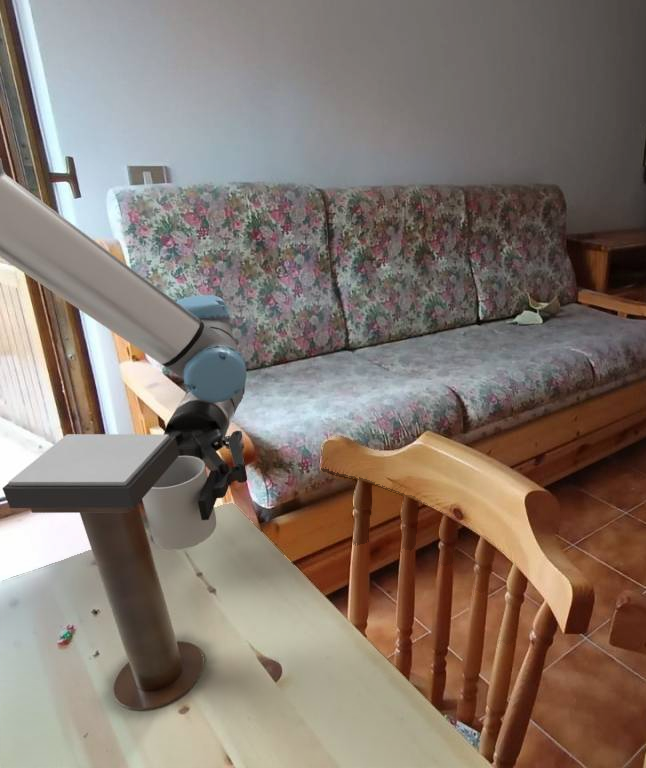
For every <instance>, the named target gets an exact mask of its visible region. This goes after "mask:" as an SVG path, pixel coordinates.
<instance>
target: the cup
mask: <svg viewBox="0 0 646 768" xmlns="http://www.w3.org/2000/svg"><path fill="white" fill-rule="evenodd" d="M208 476H209V475H208V472H207V467H205V463H204V462H203V460H201V459H200V458H197V457H194V456H178V457H177V458H176V460H175V461H174V462H173V463H172V464H171V466H170V467H169V468H168V469H167V470H166V471H165V473H164V474H163V475H162V476H161V477H160V478H159V480H158V481H157V482H156V483H155V484H154V485H153V487H152V488H151V489H150V490H149V491H148V493H147V494H146V495H145V496H144V497H143V498H142V500H141V501H142V504H143V508H144V511H145V515H146V516H145V515H142V514H141V516H142V519H143V523H144V526H145V530H146V531H150V534H151V537H152V540H153V542H154V544H155V545H156V546H158V547H159V548H162V549H164V550H169V551H179V550H180V551H181V550H184V549H189V548H193V547H195V546H198V545H199V544H202V543H204V542H205V541H206V540H207V539H209V538H210V537H211V536H212V535H213V533H214V531H215V529H216V528H217V515H216V510H215V506H214V507H213V510H212V513H211V515H210V518H209V520H202V519H201V514H200V510H199V505H198V499H199V497H200V494H201V492H202V490H203V487H204V485H205V483H206V480H207V478H208Z"/></svg>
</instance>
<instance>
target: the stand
mask: <svg viewBox="0 0 646 768" xmlns="http://www.w3.org/2000/svg"><path fill="white" fill-rule="evenodd" d="M30 512H31V513H32V514H37V513H38V514H69V513H70V514H77V513H78V514H79V515H80V519H81V521H82V525H83V527H84V530H85V534H86V537H87V539H88V543H89V545H90V549H91V552H92V555H93V558H94V561H95V564H96V567H97V569H98V573H99V576H100V579H101V582H102V585H103V589H104V591H105V595H106V598H107V600H108V603H109V606H110V609H111V612H112V615H113V618H114V621H115V624H116V628H117V631H118V634H119V637H120V640H121V642H122V646H123V649H124V652H125V655H126V658H127V663H126V664H125V665H124V666H123V668H122V669H121V670H120V671H119V673H118V674H117V676H116V678H115V680H114V683H113V689H112V693H113V697H114V699H115V701H116V703H117V704H118V705H119V706H120V707H122V708H123V709H126V710H129V711H135V712H137V711H138V712H144V711H145V712H146V711H151V710H152V711H153V710H155V709H158V708H162V707H164V706H167V705H169V704H171V703H173V702H175V701H176V700H178V699H180V698H181V697H183V696H184V695H185V694H186V693H188V692H189V691H190V690H191V689H192V688H193V687H194V686H195V685H196V683H197V682H198V681H199V679H200V678H201V675H202V674H203V672H204V668H205V656H204V653H203V652H202V650H201V649H200V648H199V647H198V646H197V645H195V644H193V643H191V642H188V641H179V640H178V641H177V637H176V634H175V630H174V626H173V623H172V619H171V617H170V613H169V609H168V605H167V602H166V598H165V595H164V592H163V587H162V584H161V580H160V576H159V574H158V570H157V566H156V563H155V558H154V556H153V555H154V554H153V552H152V548H151V545H150V541H149V537H148V533H147V530H145V526H144V523H143V519H142V516H143V515H142V513H141V509H140V506H139V503H138V504H137V505H136V507H135V508H30ZM141 515H142V516H141Z"/></svg>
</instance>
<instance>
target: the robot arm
mask: <svg viewBox="0 0 646 768" xmlns="http://www.w3.org/2000/svg"><path fill="white" fill-rule="evenodd" d="M2 162H3V161H2V158H1V157H0V258H1V259H2V260H4V261H5V262H7V263H9V264H10V265H11V266H13V267H14V268H16V269H18V270H19V271H20V272H22V273H24V274H25V275H26V276H28V277H29V278H32V279H33V280H34V281H35V282H37V283H39V284H40V285H41V286H43V287H44V288H46V289H48V290H49V291H50V292H52V293H54V294H55V295H56V296H58V297H60V298H61V299H63V300H64V301H66V302H67V303H69V304H70V305H72V306H73V307H75V308H76V309H78V310H79V311H81V312H82V313H84V314H85V315H87V316H88V317H90V318H91V319H92V320H94V321H95V322H97V323H98V324H100V325H101V326H103V327H105V328H106V329H108V330H109V331H111V332H112V333H114V334H115V335H117V336H118V337H120V338H121V339H123V340H124V341H126V342H128V343H129V344H131V346H133V347H134V348H136V349H138V350H139V351H141V352H142V353H144V354H146V355H147V356H149V357H150V358H151V359H153V360H154V361H156V362H158V363H159V364H161V365H162V366H163V367H165V368H166V369H168V370H169V371H171V372H172V373H173V374H175V375H176V376H178V377H179V378H181V379H182V381H183V384H184V385H185V387H186V388H187V391H186V393H185V395H184V396H183V398H182V399H181V400H180V402H179V404H178V405H177V407H176V408H175V410H174V412H173V414H172V415H171V417H170V418H169V420H168V421H167V423H166V426H165V429H164V432H163V435H169V437H176V441H177V446H178V450H179V454H180V455H179V456H194V457H197V458H200V459H201V460H203V462H204V463H205V467H206V469H208V471H209V474H208V475H207V476H208V478H207V480H206V483H205V485H204V487H203V490H202V492H201V494H200V497H199V499H198V505H199V510H200V514H201V519H202V520H209V518H210V515H211V513H212V510H213V507H214V508H215V505H216V502H217V499H223V498H225V496H226V495H227V492H228V489H229V488H230V486H231V485H232V483H233V482H237V483H241V484H242V483H245V482H247V481H248V474H247V469H246V462H245V460H244V455H243V451H244V449H245V443H244V438H243V431H242V430H234V431H233V432H232V433H231V435H227V433H228V430H229V428H230V426H231V423H232V420H233V418H234V416H235V414H236V411H237V409H238V407H239V406H240V403H241V402H242V400H243V398H244V395H245V393H246V392H245V390H246V384H247V383H246V382H247V374H248V373H247V369H246V360H245V358H244V356H243V354H242V353H241V352H240V348H239V347H238V344H237V342H236V339H235V337H234V334H233V332H232V328H231V322H230V321H231V320H230V318H231V317H230V314H229V312H228V307H227V303H226V301H225V300H224V299H223V298H222V297H220V296H216V295H210V294H206V295H205V294H200V295H199V294H198V295H191V296H187V297H186V296H185V297H182V298H181V299H180V298H179V299H178V300H174V299H173V298H172V297H171V296H169V295H168V294H167V293H165V292H163V291H162V290H161V289H160V288H158V287H157V286H155V284H153V283H152V282H150V280H147V278H145V277H144V276H142V275H141V274H140V273H138V272H137V271H136V270H134V269H133V268H131V267H130V266H129V265H128V264H126V263H125V262H124V261H122V260H121V259H119V258H118V257H117V256H116V255H114V254H113V253H112V252H110V251H109V250H107V249H106V248H105V247H104V246H102V245H101V244H100V243H98V242H97V241H96V240H94V239H93V238H92V237H90V236H89V235H88V234H86V232H83V230H81V229H80V228H78V227H76V225H74V224H73V223H72V222H70V221H69V220H68V219H66V218H65V217H64V216H62V215H61V214H59V213H58V212H57V211H55V210H54V209H53V208H52V207H50V206H49V205H48V204H46V203H45V202H44V201H42V200H41V199H39V198H38V197H37V196H36V195H35V194H33V193H31V192H30V191H29V190H28V189H26V188H25V187H23V186H22V184H20V183H18V182H17V181H15V180H14V179H13V178H12V177H10V176H9V175H7V173H6V172H5V171H4V167H3V163H2ZM224 447H225V449H226V450H228V452H229V453H230V454H231V458H232V463H233V464H232V465H233V466H230V467H229V462H228V461H227V460H226V461H225V460H224V459H223V458H222V457H221V456H220V455H219V454H218V452H217V451H219V450H221V449H223V448H224Z"/></svg>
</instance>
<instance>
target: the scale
mask: <svg viewBox="0 0 646 768" xmlns="http://www.w3.org/2000/svg"><path fill="white" fill-rule="evenodd" d="M163 434H164V433H163ZM163 434H159V433H158V434H155V433H153V434H152V433H151V434H148V433H147V434H146V433H145V434H143V433H142V434H141V433H140V434H139V433H138V434H136V433H135V434H129V433H128V434H122V433H117V434H115V433H113V434H110V433H109V434H108V433H107V434H105V433H103V434H102V433H94V434H93V433H92V434H91V433H85V434H83V433H66V434H65V435H64V436H62V438H61V439H59V440H58V441H57V442H56V443H54V444H53V445H52V446H51V447H49V448H48V449H47V450H46V451H44V452H43V453H42V454H41V455H39V456H38V457H37V458H36V459H34V461H32V462H31V463H30V464H28V465H27V466H26V467H25V468H23V469H22V470H21V471H20V472H19V473H17V474H16V475H15V476H14V477H12V478H11V479H10V480H9V481H8V483H7V484H6V485H4V486H3V487H2V491H3V494H4V497H5V499H6V502H7V504H8V506H9V508H10V509H31V508H135V507H136V505H137V504H138V505H139V503H140V502H141V501H143V500H142V498H143V497H144V496H145V495H146V494H147V493H148V491H149V490H150V489H151V488H152V487H153V485H154V484H155V483H156V482H157V481H158V480H159V478H160V477H161V476H162V475H163V474H164V473H165V471H166V470H167V469H168V468H169V467H170V466H171V464H172V463H173V462H174V461H175V460H176V458H177V457H178V456H179V455H180V454H179V450H178V446H177V441H176V437H169V435H163Z"/></svg>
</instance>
